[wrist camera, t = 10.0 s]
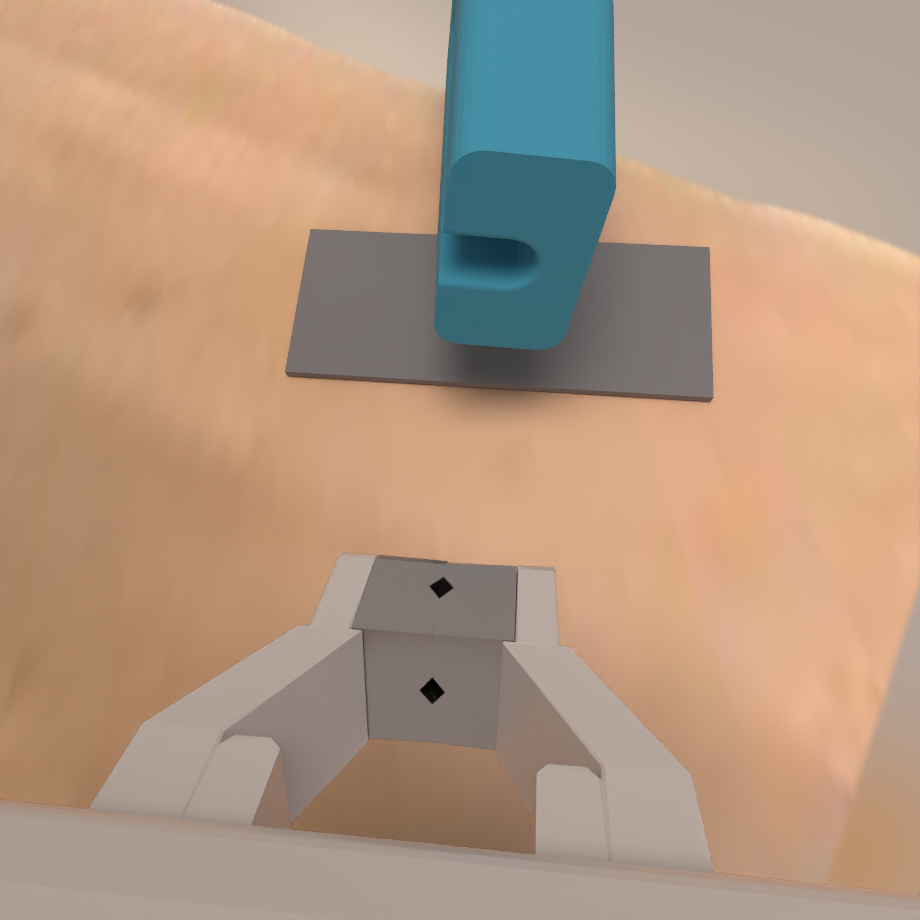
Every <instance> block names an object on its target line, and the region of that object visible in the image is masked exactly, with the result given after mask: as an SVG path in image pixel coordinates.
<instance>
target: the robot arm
mask: <svg viewBox="0 0 920 920" xmlns="http://www.w3.org/2000/svg"><path fill="white" fill-rule="evenodd" d="M368 738H372V739H388V740H403V741H419V742H433V743H442V744H450V745H458V746H467V747H475V748H483V749H492V750H496V754H497V756H498V758H499V760H500V762H501V763H502V765H503V767H504V769H505V771H506V772H507V774H508V776H509V778H510V780H511V781H512V783H513V785H514V787H515V789H516V790H517V792H518V794H519V796H520V798H521V799H522V801H523V803H524V805H525V807H526V808H527V810H528V812H529V814H530V816H531V817H532V820H531V829H530V838H529V847H528V853H519V852H509V851H499V850H490V849H480V848H470V847H460V846H450V845H441V844H431V843H421V842H411V841H401V840H392V839H382V838H372V837H362V836H352V835H342V834H333V833H323V832H313V831H303V830H293V829H291V826H290V824H291V823H292V822H293V821H294V820H295V819H296V818H297V817H298V815H299V814H300V813H301V812H302V811H303V810H304V809H305V808H306V807H307V806H308V805H309V804H310V803H311V802H312V801H313V800H314V799H315V798H316V797H317V795H318V794H319V793H320V792H321V791H322V790H323V789H324V788H325V787H326V786H327V785H328V784H329V783H330V782H331V781H332V780H333V779H334V778H335V776H336V775H337V774H338V773H339V772H340V771H341V770H342V769H343V768H344V767H345V766H346V765H347V764H348V763H349V762H350V761H351V760H352V759H353V757H354V756H355V755H356V754H357V753H358V752H359V751H360V750H361V749H362V748H363V747H364V746H365V745H366V744H367V743H368ZM0 920H920V894H919V893H909V892H898V891H889V890H880V889H870V888H859V887H850V886H840V885H830V884H820V883H810V882H800V881H791V880H781V879H771V878H761V877H751V876H741V875H731V874H722V873H714V869H713V865H712V860H711V856H710V852H709V848H708V843H707V839H706V835H705V831H704V827H703V822H702V818H701V814H700V810H699V806H698V801H697V797H696V793H695V789H694V784H693V780H692V776H691V774H690V773H689V772H688V771H687V770H686V769H685V768H684V767H683V766H682V765H681V763H680V762H679V761H678V760H677V759H676V758H675V757H674V756H673V755H672V754H671V753H670V752H669V751H668V750H667V749H666V748H665V747H664V745H663V744H662V743H661V742H660V741H659V740H658V739H657V738H656V737H655V736H654V735H653V734H652V733H651V732H650V731H649V730H648V729H647V727H646V726H645V725H644V724H643V723H642V722H641V721H640V720H639V719H638V718H637V717H636V716H635V715H634V714H633V713H632V712H631V711H630V709H629V708H628V707H627V706H626V705H625V704H624V703H623V702H622V701H621V700H620V699H619V698H618V697H617V696H616V695H615V694H614V693H613V691H612V690H611V689H610V688H609V687H608V686H607V685H606V684H605V683H604V682H603V681H602V680H601V679H600V678H599V677H598V676H597V675H596V673H595V672H594V671H593V670H592V669H591V668H590V667H589V666H588V665H587V664H586V663H585V662H584V661H583V660H582V659H581V658H580V657H579V655H578V654H577V653H576V652H575V651H574V650H573V649H572V648H571V647H565V646H560V644H559V625H558V606H557V587H556V571H555V569H554V568H553V567H542V566H518V569H517V566H503V565H486V564H470V563H453V562H448V561H439V560H428V559H417V558H407V557H396V556H385V555H379V556H377V555H374V554H360V553H347V552H344V553H343V554H341V555H340V556H339V557H338V559H337V561H336V563H335V566H334V568H333V570H332V573H331V575H330V577H329V580H328V582H327V584H326V587H325V589H324V591H323V593H322V596H321V598H320V600H319V603H318V605H317V607H316V610H315V612H314V614H313V617H312V619H311V621H310V623H309V626H305V625H297V626H296V627H294V628H293V629H291V630H289V631H288V632H286V633H285V634H283V635H282V636H280V637H278V638H277V639H275V640H274V641H272V642H270V643H269V644H267V645H266V646H264V647H262V648H261V649H259V650H258V651H256V652H255V653H253V654H251V655H250V656H248V657H247V658H245V659H243V660H242V661H240V662H239V663H237V664H236V665H234V666H232V667H231V668H229V669H228V670H226V671H224V672H223V673H221V674H220V675H218V676H216V677H215V678H213V679H212V680H210V681H209V682H207V683H205V684H204V685H202V686H201V687H199V688H197V689H196V690H194V691H193V692H191V693H189V694H188V695H186V696H185V697H183V698H182V699H180V700H178V701H177V702H175V703H174V704H172V705H170V706H169V707H167V708H166V709H164V710H162V711H161V712H159V713H158V714H156V715H155V716H153V717H151V718H150V719H148V720H147V721H145V722H143V724H142V725H141V727H140V728H139V730H138V731H137V733H136V735H135V736H134V738H133V739H132V741H131V742H130V744H129V746H128V747H127V749H126V750H125V752H124V753H123V755H122V757H121V758H120V760H119V761H118V763H117V764H116V766H115V768H114V769H113V771H112V772H111V774H110V775H109V777H108V779H107V780H106V782H105V783H104V785H103V786H102V788H101V790H100V791H99V793H98V794H97V796H96V797H95V799H94V801H93V802H92V804H91V805H90V807H89V808H78V807H68V806H58V805H49V804H39V803H29V802H19V801H9V800H0Z"/></svg>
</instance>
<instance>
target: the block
mask: <svg viewBox="0 0 920 920" xmlns="http://www.w3.org/2000/svg"><path fill="white" fill-rule="evenodd" d="M613 13H614V12H613V0H452V11H451V23H450V35H449V47H448V59H447V76H446V93H445V112H444V130H443V148H442V166H441V185H440V203H439V221H438V241H437V266H436V291H435V316H434V327H435V330H436V332H437V334H438V335H439V336H440V337H441V338H443V339H444V340H446V341H449V342H452V343H457V344H469V345H481V346H493V347H506V348H518V349H530V350H542V349H548V348H550V347H553V346H555V345H557V344H558V343H559V342H560V341H561V340H562V339H563V338H564V336H565V334H566V331H567V328H568V326H569V323H570V320H571V317H572V314H573V311H574V308H575V306H576V303H577V300H578V297H579V294H580V291H581V288H582V286H583V283H584V280H585V277H586V274H587V271H588V268H589V266H590V263H591V260H592V257H593V254H594V251H595V248H596V246H597V243H598V240H599V237H600V234H601V231H602V228H603V226H604V223H605V220H606V217H607V214H608V211H609V208H610V206H611V203H612V200H613V197H614V194H615V189H616V157H615V91H614V90H615V86H614V16H613Z"/></svg>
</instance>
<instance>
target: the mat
mask: <svg viewBox="0 0 920 920" xmlns="http://www.w3.org/2000/svg"><path fill="white" fill-rule="evenodd" d="M437 241H438V235H427V234H405V233H383V232H362V231H340V230H318V229H310V235H309V241H308V246H307V252H306V258H305V263H304V269H303V274H302V280H301V286H300V291H299V297H298V303H297V308H296V314H295V319H294V325H293V331H292V336H291V342H290V347H289V353H288V359H287V364H286V370H285V372H286V374H287V375H288V376H296V377H312V378H328V379H345V380H361V381H378V382H394V383H410V384H427V385H443V386H460V387H476V388H493V389H509V390H525V391H542V392H558V393H575V394H591V395H608V396H624V397H640V398H657V399H673V400H690V401H706V402H710V401H711V400H712V399H713V365H712V327H711V288H710V250H709V247H690V246H668V245H647V244H625V243H603V242H598V243H597V246H596V248H595V251H594V254H593V257H592V260H591V263H590V266H589V268H588V271H587V274H586V277H585V280H584V283H583V286H582V288H581V291H580V294H579V297H578V300H577V303H576V306H575V308H574V311H573V314H572V317H571V320H570V323H569V326H568V328H567V331H566V334H565V336H564V338H563V339H562V340H561V341H560V342H559V343H558V344H557V345H555V346H553V347H550V348H548V349H542V350H530V349H518V348H506V347H493V346H481V345H469V344H457V343H452V342H449V341H446V340H444V339H443V338H441V337H440V336H439V335H438V334H437V332H436V330H435V327H434V316H435V291H436V266H437Z"/></svg>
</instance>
